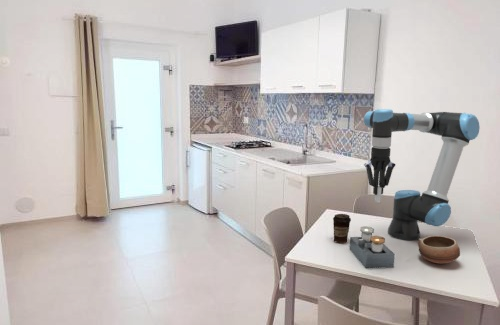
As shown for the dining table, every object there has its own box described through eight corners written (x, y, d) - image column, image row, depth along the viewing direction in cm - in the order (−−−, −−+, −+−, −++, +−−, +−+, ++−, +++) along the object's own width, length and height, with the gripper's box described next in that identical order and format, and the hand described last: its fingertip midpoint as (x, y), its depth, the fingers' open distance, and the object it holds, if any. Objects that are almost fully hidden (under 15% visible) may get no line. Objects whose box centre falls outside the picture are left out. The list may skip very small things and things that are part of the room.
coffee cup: (349, 245, 178) (351, 219, 176) (331, 243, 180) (333, 218, 177) (348, 238, 187) (350, 213, 184) (331, 237, 188) (333, 212, 186)
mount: (374, 248, 175) (375, 236, 174) (393, 267, 157) (394, 254, 155) (349, 249, 174) (350, 237, 173) (365, 268, 155) (366, 254, 154)
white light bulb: (369, 247, 174) (370, 226, 172) (374, 252, 168) (376, 230, 166) (357, 247, 173) (358, 226, 171) (361, 253, 167) (363, 231, 165)
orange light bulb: (379, 257, 163) (381, 235, 161) (385, 263, 157) (387, 240, 155) (366, 258, 162) (368, 235, 160) (372, 264, 157) (373, 241, 155)
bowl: (412, 252, 171) (414, 232, 169) (447, 253, 171) (449, 232, 169) (426, 269, 156) (429, 246, 154) (465, 270, 155) (468, 247, 153)
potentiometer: (363, 243, 165) (363, 238, 165) (365, 246, 162) (366, 240, 162) (357, 244, 165) (357, 238, 164) (359, 246, 162) (359, 240, 162)
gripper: (391, 145, 160) (387, 198, 165) (362, 146, 159) (359, 199, 163) (400, 148, 153) (396, 203, 158) (369, 148, 151) (366, 205, 156)
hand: (377, 201), depth 161 cm, fingers closed
